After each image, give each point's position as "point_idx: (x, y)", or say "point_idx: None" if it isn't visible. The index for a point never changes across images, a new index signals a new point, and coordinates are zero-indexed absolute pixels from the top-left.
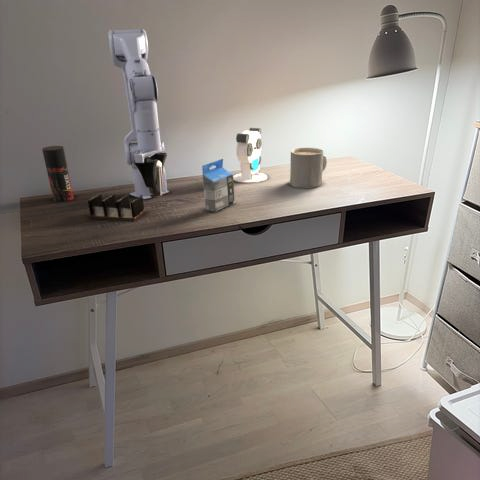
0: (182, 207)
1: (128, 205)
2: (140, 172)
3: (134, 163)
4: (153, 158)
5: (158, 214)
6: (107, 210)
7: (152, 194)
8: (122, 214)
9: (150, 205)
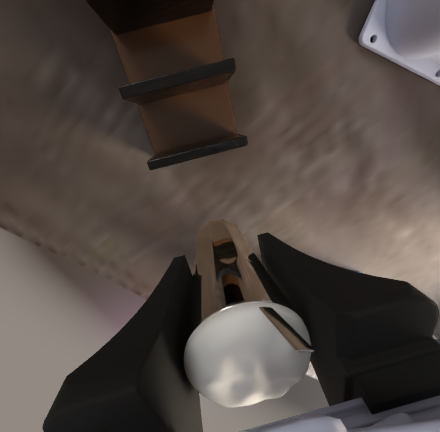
0: (306, 210)
1: (214, 83)
2: (134, 316)
3: (63, 382)
4: (325, 351)
5: (237, 187)
6: (126, 23)
7: (195, 247)
8: (157, 100)
9: (304, 107)
